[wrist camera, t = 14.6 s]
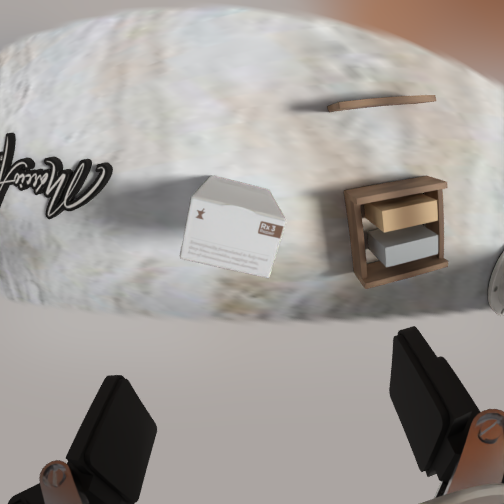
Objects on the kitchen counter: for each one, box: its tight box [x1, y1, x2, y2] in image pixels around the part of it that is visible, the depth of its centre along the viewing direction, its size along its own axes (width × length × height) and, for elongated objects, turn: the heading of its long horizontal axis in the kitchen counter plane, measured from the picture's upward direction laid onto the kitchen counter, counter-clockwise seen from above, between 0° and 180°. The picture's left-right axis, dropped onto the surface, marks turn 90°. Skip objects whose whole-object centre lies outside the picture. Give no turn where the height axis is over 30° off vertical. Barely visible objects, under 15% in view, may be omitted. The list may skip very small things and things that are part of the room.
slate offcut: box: [367, 224, 438, 267], centre depth 29 cm, size 6×2×5 cm, turn 103°
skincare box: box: [180, 175, 287, 278], centre depth 24 cm, size 6×4×12 cm
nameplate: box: [0, 133, 113, 219], centre depth 28 cm, size 27×2×10 cm
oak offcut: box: [364, 193, 438, 233], centre depth 28 cm, size 6×2×5 cm, turn 103°
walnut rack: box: [327, 95, 448, 289], centre depth 27 cm, size 10×18×4 cm, turn 13°
